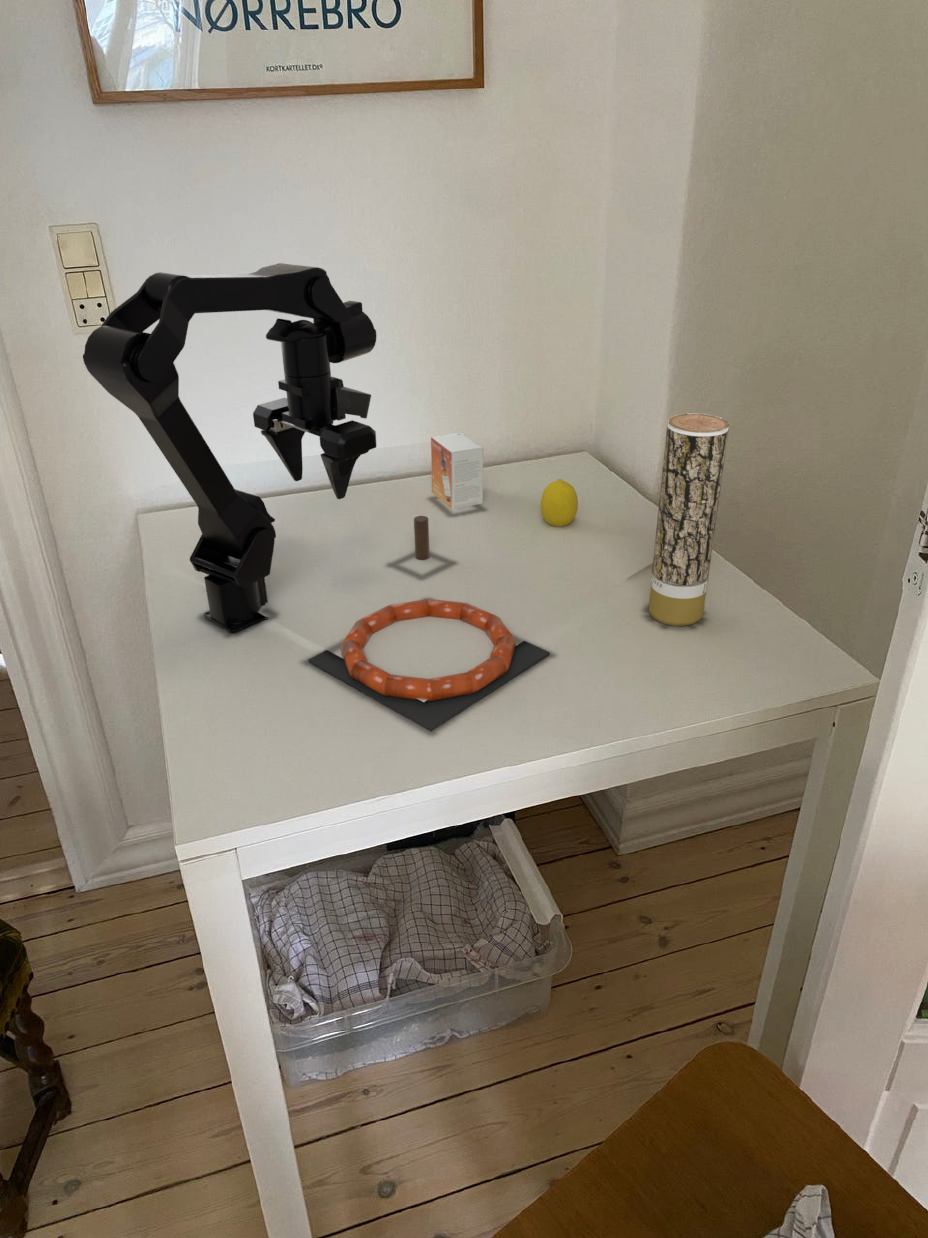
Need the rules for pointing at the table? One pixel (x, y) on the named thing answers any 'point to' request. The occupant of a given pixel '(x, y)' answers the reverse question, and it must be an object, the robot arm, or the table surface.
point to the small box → (457, 470)
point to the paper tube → (687, 516)
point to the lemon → (559, 503)
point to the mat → (438, 710)
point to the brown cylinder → (421, 537)
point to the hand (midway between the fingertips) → (319, 489)
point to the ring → (422, 686)
